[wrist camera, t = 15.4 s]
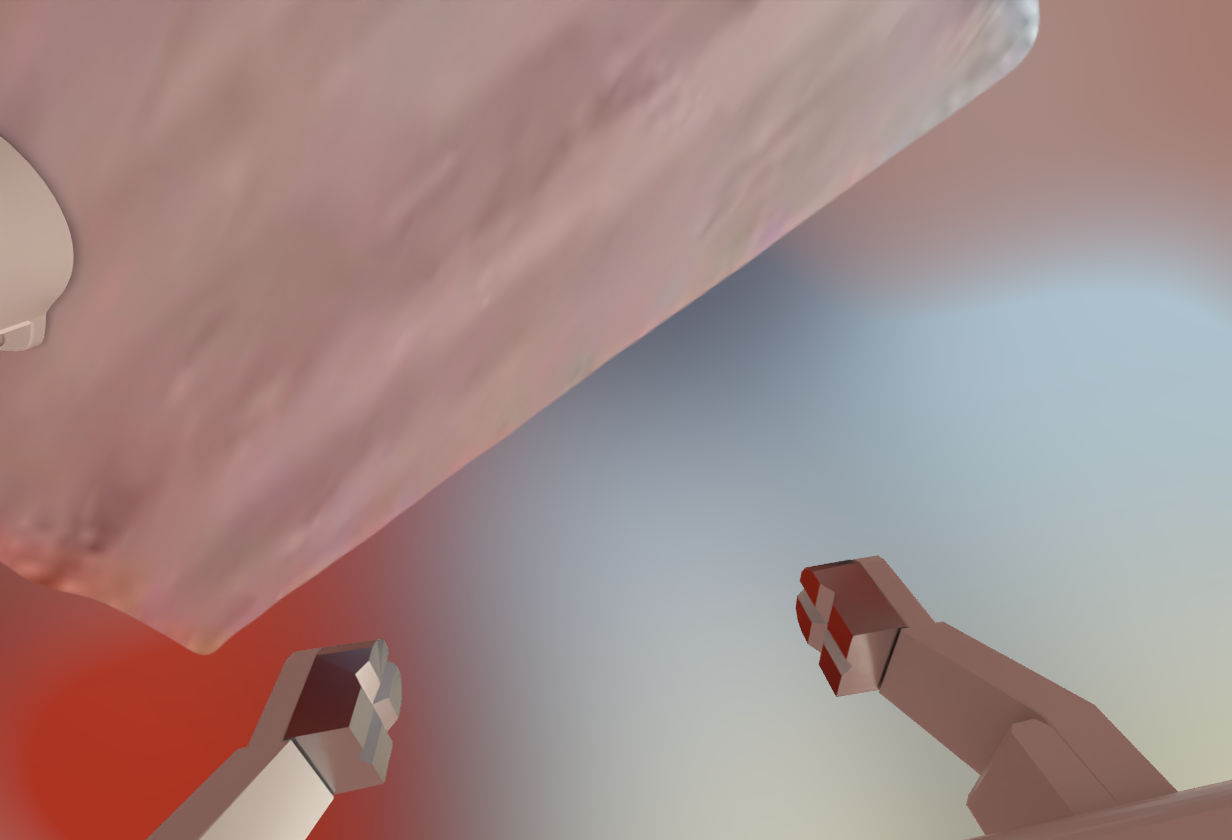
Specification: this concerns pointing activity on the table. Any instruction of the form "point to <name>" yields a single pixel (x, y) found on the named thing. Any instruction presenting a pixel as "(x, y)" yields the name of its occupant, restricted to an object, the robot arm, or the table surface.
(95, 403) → the table surface
